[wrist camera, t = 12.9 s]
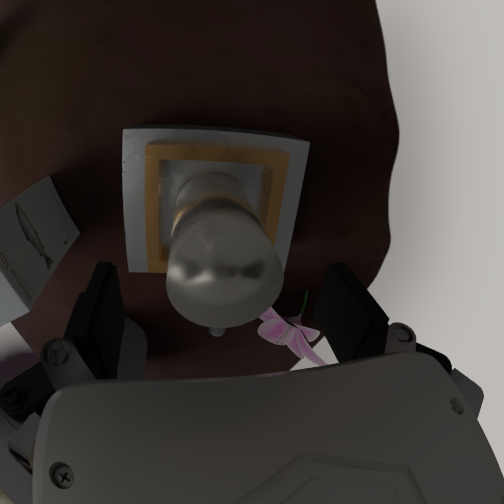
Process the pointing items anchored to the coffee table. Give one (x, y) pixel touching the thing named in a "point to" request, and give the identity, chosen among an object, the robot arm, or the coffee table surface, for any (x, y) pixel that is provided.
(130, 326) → the coffee mug
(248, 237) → the spout can
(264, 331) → the lily
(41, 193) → the supplement box
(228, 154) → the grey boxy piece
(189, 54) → the coffee table surface
